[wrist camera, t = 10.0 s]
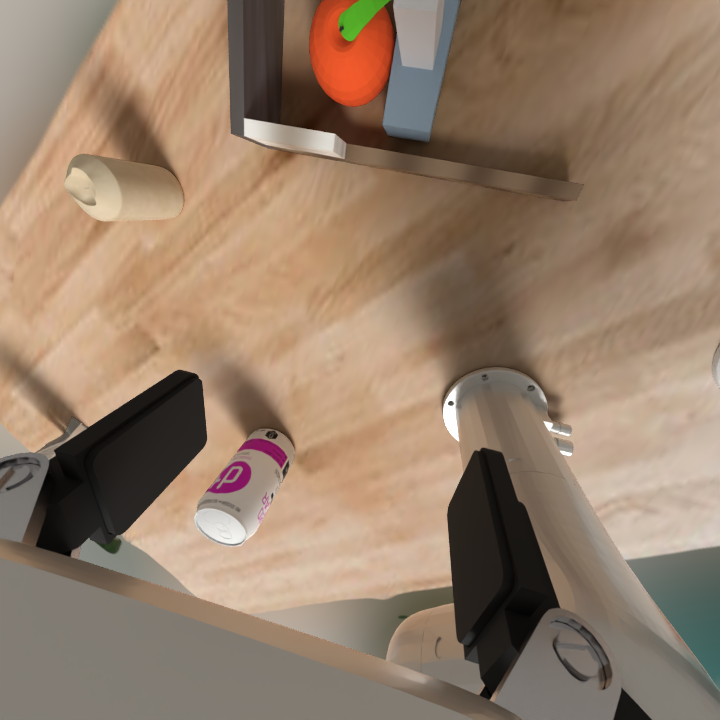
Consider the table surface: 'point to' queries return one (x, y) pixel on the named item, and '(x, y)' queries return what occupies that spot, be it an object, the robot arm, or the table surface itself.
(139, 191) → the candle
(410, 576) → the table surface
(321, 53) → the clementine
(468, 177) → the frame
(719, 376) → the candlestick
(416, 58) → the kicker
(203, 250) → the table surface
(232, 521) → the supplement can
